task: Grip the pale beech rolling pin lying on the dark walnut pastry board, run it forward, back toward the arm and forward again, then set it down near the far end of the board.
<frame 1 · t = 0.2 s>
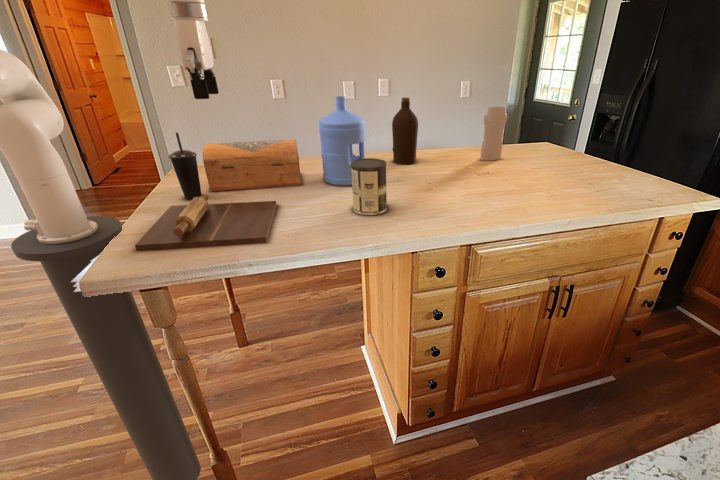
hand: (207, 96, 96), 32 cm above the kitchen island, tool pointing down, fingers open, 9 cm apart
pastry board: (215, 225, 107), on the kitchen island
wooden box: (258, 182, 140), on the kitchen island
coffee can: (369, 209, 119), on the kitchen island
drinking cup: (193, 197, 126), on the kitchen island
water jug: (345, 180, 143), on the kitchen island
rolling pin: (192, 213, 104), point 4 cm above the kitchen island, touching pastry board
tall pale column: (490, 159, 171), on the kitchen island
olive oil: (404, 162, 166), on the kitchen island
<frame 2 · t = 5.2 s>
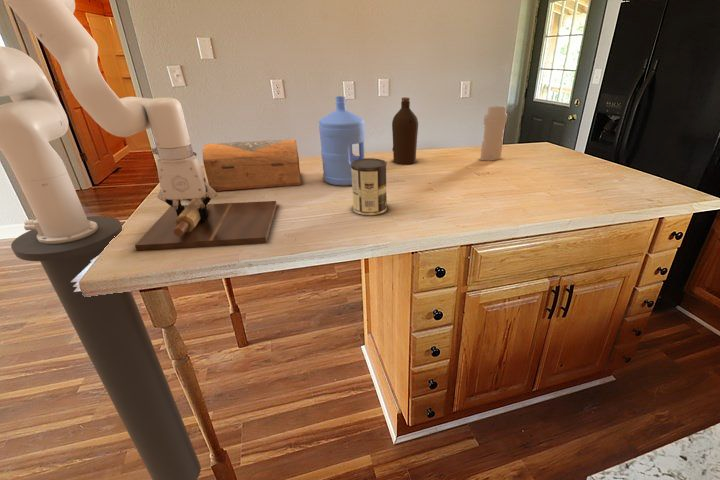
hand: (194, 220, 105), 2 cm above the kitchen island, tool pointing down, fingers closed on rolling pin, 4 cm apart
rolling pin: (192, 213, 104), point 4 cm above the kitchen island, touching gripper, pastry board
everything else where it was.
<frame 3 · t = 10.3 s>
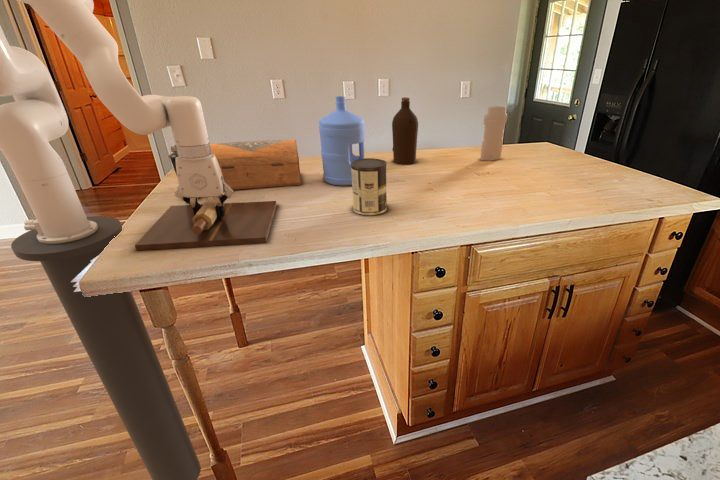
hand: (210, 218, 106), 2 cm above the kitchen island, tool pointing down, fingers closed on rolling pin, 4 cm apart
rolling pin: (209, 211, 105), point 4 cm above the kitchen island, touching gripper
everything else where it was.
when the fingers open (2 cm above the kitchen island, at t = 15.8 s): rolling pin stays where it is, resting on pastry board.
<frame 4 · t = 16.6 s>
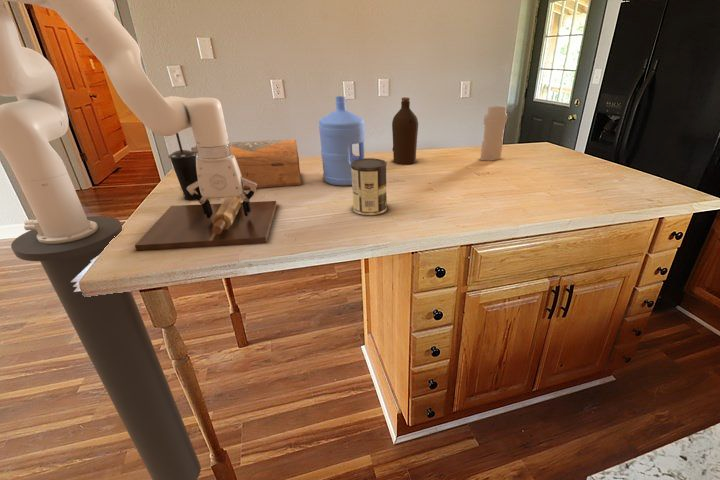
hand: (228, 215, 106), 3 cm above the kitchen island, tool pointing down, fingers open, 9 cm apart
rolling pin: (227, 211, 106), point 4 cm above the kitchen island, touching pastry board
everything else where it was.
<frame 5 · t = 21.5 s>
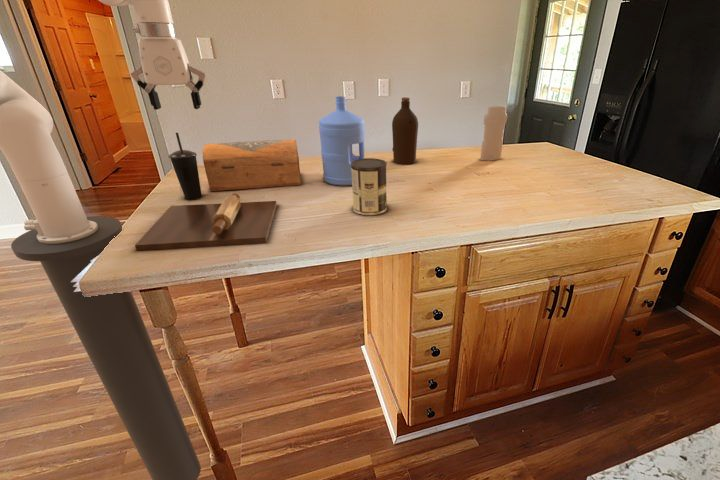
hand: (177, 108, 102), 28 cm above the kitchen island, tool pointing down, fingers open, 9 cm apart
nothing on the kitchen island moved.
at the end: rolling pin inside the target area (0.2 cm from its centre), point 3.7 cm above the kitchen island; rolling pin touching pastry board; the gripper is holding nothing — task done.
